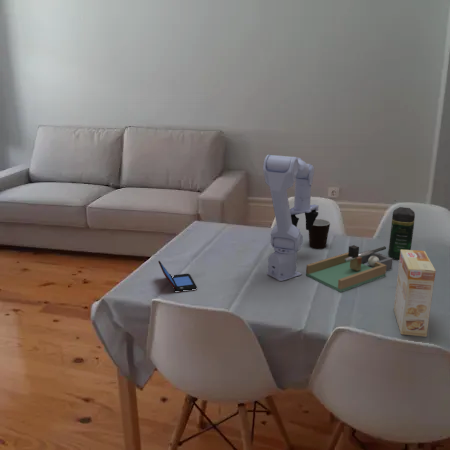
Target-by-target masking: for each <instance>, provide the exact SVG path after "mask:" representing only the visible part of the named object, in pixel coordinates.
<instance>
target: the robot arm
mask: <svg viewBox="0 0 450 450" xmlns="http://www.w3.org/2000/svg"><path fill="white" fill-rule="evenodd" d="M262 165H263V166H262V172H263V175H264V181H265V184H266V185H267V186H269V190H270V195H271V200H272V206H273V212H274V216H275V221H276V223H275V225H274V226H273V227H272V229H271V232H270V245H271V247H272V248H273V252H272V253H270V254H269V256H268V257H267V258H268V259H267V263H268V266H267V271H266V275H267V276H269V277H272V278H274V279H276V280H277V281H279V282H282V281H283V282H284V281H286V280H289V279H293V278H295V277H300V276H301V275H302V272H299V271H297V263H298V262H297V257H298V256H297V255H298V252H299V251H300V250H301V249H302V246H303V241H304V238H303V234H302V233H301V230H300V228H299V227H298V223H299V220H300V218H299V217H297V215H301V214H304V215H305V230H306V231H308V230H309V231H311V229H312V226H313V223H314V221H315V219H317V217H318V216H319V212H318V211H319V205H317V204H311V195H312V185H313V181H314V175H315V167H314V165H312V163H306V161H305V160H303V159H302V158H301V157H297V156H287V155H285V156H284V155H278V154H277V155H276V154H275V155H274V154H273V155H271V154H267V155H266V156H265V157H264V160H263V164H262ZM293 186H294V202H293V203H294V205H293V207H292V208H291V207H290V204H289V198H288V197H289V196H288V189H289V188H292V187H293ZM309 231H308V232H309Z"/></svg>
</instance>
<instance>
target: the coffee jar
mask: <svg viewBox="0 0 450 450" xmlns="http://www.w3.org/2000/svg"><path fill="white" fill-rule="evenodd" d="M415 215H416V213H415V211H414V210H413V209H411V208H410V207H403V206H402V207H401V206H400V207H397V208H395V209H393V212H392V217H391V225H390V226H391V227H390V235H389V245H388V252H387V254H388V255H387V256H388V257H390V258H393V260H396V261H399V260H400V250H401V249H402V250H412V242H413V238H414V237H413V236H414V235H413V234H414V229H415V228H414V227H415V217H416V216H415Z"/></svg>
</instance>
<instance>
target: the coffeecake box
mask: <svg viewBox="0 0 450 450" xmlns="http://www.w3.org/2000/svg"><path fill="white" fill-rule="evenodd" d="M436 273H437V271H436V268H435V267H434V265H433V263H432V261H431V259H430V257H428V254H427V252H426V251H425V250H417V249H416V250H415V249H411V250H402V249H401V250H400V260H398V270H397V281H396V287H395V294H394V295H395V296H394V297H395V298H394V304H393V313H394V316H395V318H396V322H397V325H398V326H397V327H398V328H399V333H400V335H403V336H404V335H405V336H414V337H428V328H429V321H430V314H431V308H432V307H431V306H432V299H433V291H434V285H435V284H434V283H435V280H436V279H435V278H436Z"/></svg>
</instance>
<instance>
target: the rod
mask: <svg viewBox="0 0 450 450" xmlns="http://www.w3.org/2000/svg"><path fill="white" fill-rule="evenodd" d="M386 249H387V247H386V246H381V247H377V248H374V249H372V250H371V249H370V250H371V251H367V250H366V251H367V252H364V251H363V252H364V253H361V252H360V247H359V246H357V245H355V244H353V245H350V246H348V252H349V253H348V256H349V257H348V258H345V261H346V262H347V261H350V268H351V269H353V270H356V271H358V270H361V260H362V257H363V256H366V255H369V254H372V253H376V252H377V253H378V252H381V251H384V250H386ZM359 253H361V254H359Z"/></svg>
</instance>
